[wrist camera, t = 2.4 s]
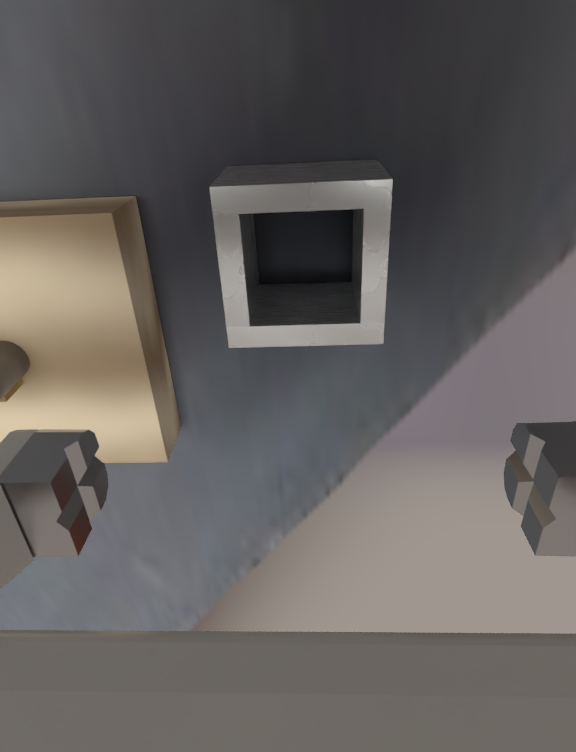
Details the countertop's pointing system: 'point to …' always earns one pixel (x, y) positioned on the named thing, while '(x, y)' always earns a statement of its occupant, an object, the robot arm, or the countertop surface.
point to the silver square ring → (304, 300)
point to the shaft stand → (83, 328)
